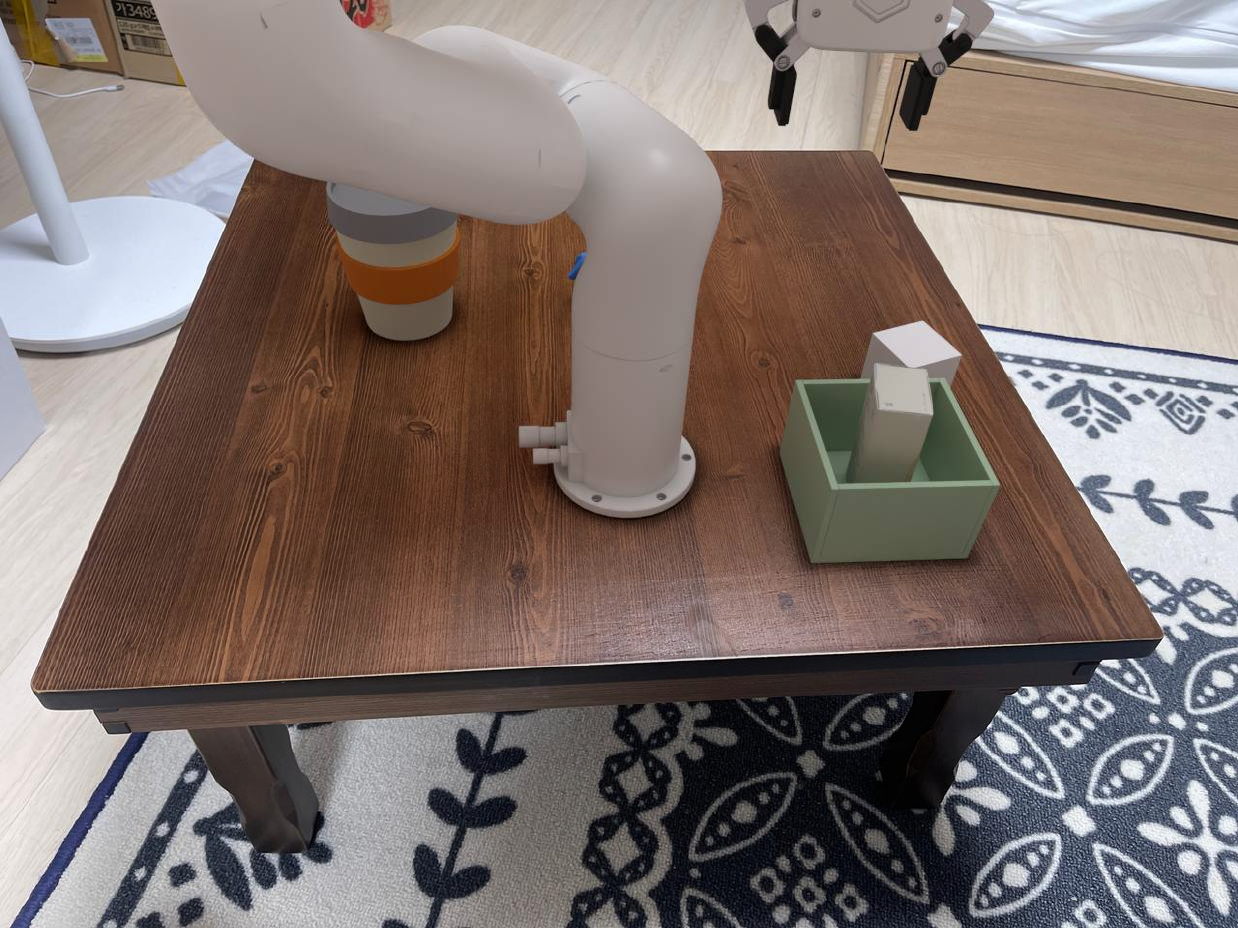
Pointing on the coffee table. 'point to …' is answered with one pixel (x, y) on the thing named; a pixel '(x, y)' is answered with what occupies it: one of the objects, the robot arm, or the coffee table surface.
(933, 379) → the bin
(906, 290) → the coffee table surface
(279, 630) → the coffee table surface
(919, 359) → the white cube
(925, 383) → the cosmetic box
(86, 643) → the coffee table surface
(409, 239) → the reusable coffee cup
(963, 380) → the coffee table surface
